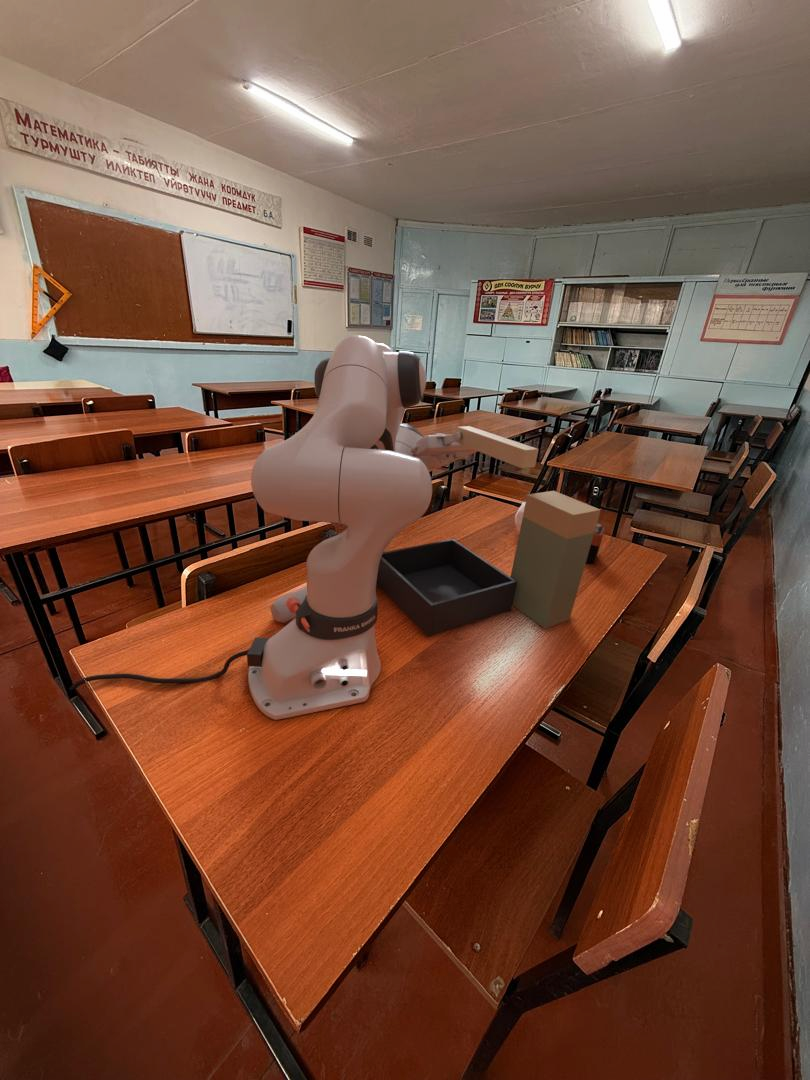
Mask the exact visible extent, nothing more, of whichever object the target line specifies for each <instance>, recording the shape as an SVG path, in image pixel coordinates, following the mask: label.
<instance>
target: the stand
mask: <svg viewBox="0 0 810 1080" xmlns="http://www.w3.org/2000/svg"><path fill="white" fill-rule="evenodd" d="M525 502H526V503H525V508H524V513H523V518H522V523H521V528H520V533H519V532H518V538H517V543H516V546H515V547H516V548H515V553H514V558H513V563H512V568H511V572H510V573H511V574H510V577H511V578H513V579H514V580H516V581H517V586H516V591H515V596H514V600H513V605H512V607H514V608H516V609H517V610H518V611H520V612H521V613H523V615H524V616H527V617H528V618H529V619H531V620H532V621H533V622H535V624H537V625H538V626H540V627H541V628H542V629H544V630H545V629H547V628H550V627H553V626H556V625H559V624H562V623H565V622H567V621H569V620H570V619H571V616H572V612H573V610H574V606H575V602H576V599H577V595H578V591H579V589H580V585H581V581H582V578H583V574H584V570H585V566H586V563H587V562H586V560H587V556H588V553H589V549H590V546H591V542H592V539H593V535H594V532H595V528H596V525H597V524H598V521H599V517H600V513H601V509H600V508H597V507H595V506H592V505H590V504H587V503H585V502H583V501H581V500H577V499H575V498H573V497H570V496H568V495H566V494H563V493H560V492H558V491H556V490H550V491H548V490H547V491H542V492H535V493H528V494H527V495H526V499H525Z"/></svg>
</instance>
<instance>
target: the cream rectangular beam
mask: <svg viewBox="0 0 810 1080" xmlns="http://www.w3.org/2000/svg"><path fill="white" fill-rule="evenodd" d="M457 432H462V433H463V439H462V440H460V441H456V443H458V444H461V445H463V446H466V447H469V448H471V449H474V450H476V451H477V452H478V453H481V454H484V455H486V456H489V457H491V458H494V459H497V460H499V461H502V462H504V463H506V464H509V465H512V466H514V467H517V468H520V469H529V468H535V467H536V464H537V459H538V454H539V450H540V449H539V448H537V447H533V446H530V445H528V444H525V443H521V442H519V441H516V440H512V439H509V438H506V437H504V436H501V435H498V434H495V433H491V432H488V431H485V430H483V429H479V428H476V427H474V426H471V425H463V426H457V427H456V433H457Z"/></svg>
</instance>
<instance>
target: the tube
mask: <svg viewBox="0 0 810 1080" xmlns="http://www.w3.org/2000/svg"><path fill="white" fill-rule="evenodd" d="M306 595H307V586H306V587H303V588H300V589H298V590H295V591H293V592H291V593H288V594H286V595H282V596H281V597H278V598H275V600H274V602H272V604H271V605H270V606H269V610H270V612H271V616H272V619H273V620H274V621H276V622H278V623H282V624H285V623H286V624H287V623H289V622H291V621H292V620H294V619H295V618H296V613H292V612H290V611H289V608H288V607H287V606H286V601H288V599H289V598H291V597H295V598H296V599H297V600H298V602H299V603H300V604H302V603H303V601H304V599H305V597H306Z"/></svg>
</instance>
